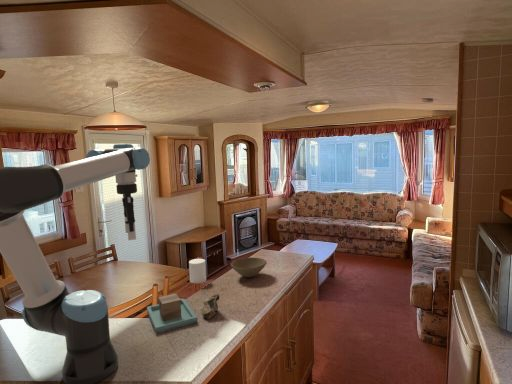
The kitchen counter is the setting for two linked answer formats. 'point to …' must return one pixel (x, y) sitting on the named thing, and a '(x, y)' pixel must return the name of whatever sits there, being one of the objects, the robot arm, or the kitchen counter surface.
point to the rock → (210, 306)
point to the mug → (197, 271)
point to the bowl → (248, 266)
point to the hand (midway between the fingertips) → (130, 235)
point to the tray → (161, 326)
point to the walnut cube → (170, 307)
